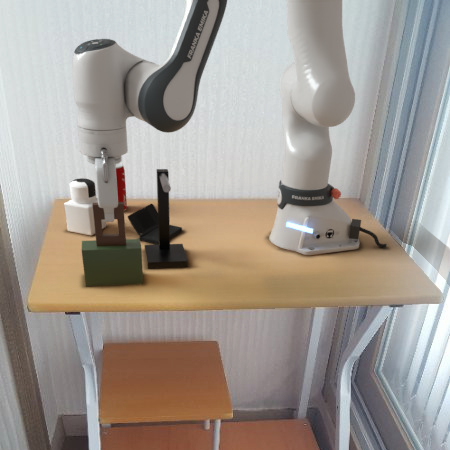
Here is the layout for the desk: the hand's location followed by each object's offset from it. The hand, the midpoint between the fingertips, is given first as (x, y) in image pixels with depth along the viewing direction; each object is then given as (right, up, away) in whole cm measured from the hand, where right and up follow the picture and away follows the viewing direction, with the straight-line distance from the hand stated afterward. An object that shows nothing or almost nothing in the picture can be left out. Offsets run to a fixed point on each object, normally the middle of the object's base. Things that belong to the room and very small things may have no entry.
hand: (109, 215), depth 117 cm
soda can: (-6, +15, +43) cm, 46 cm away
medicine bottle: (-12, +6, +31) cm, 34 cm away
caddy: (-1, -11, +9) cm, 14 cm away
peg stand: (+10, -5, +18) cm, 21 cm away
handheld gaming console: (+6, +5, +30) cm, 31 cm away
